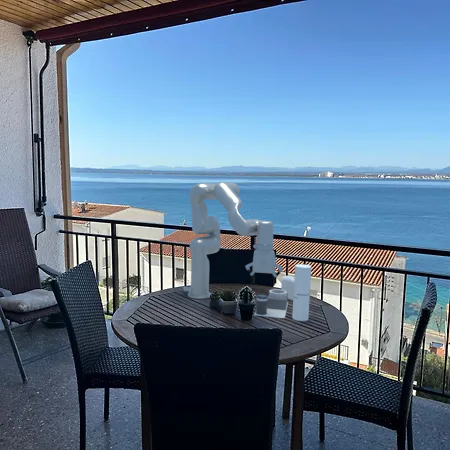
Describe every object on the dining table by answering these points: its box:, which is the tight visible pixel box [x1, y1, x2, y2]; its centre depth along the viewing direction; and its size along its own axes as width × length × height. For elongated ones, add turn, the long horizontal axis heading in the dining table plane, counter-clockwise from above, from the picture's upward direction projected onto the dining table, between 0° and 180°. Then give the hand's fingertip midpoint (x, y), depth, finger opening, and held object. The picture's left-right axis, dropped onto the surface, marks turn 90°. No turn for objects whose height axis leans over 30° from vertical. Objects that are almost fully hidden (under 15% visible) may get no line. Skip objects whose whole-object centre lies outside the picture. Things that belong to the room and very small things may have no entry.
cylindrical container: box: [291, 263, 312, 322], centre depth 191 cm, size 7×7×25 cm
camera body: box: [267, 288, 289, 311], centre depth 210 cm, size 9×14×7 cm, turn 168°
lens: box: [255, 294, 268, 315], centre depth 197 cm, size 5×5×8 cm
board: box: [253, 301, 289, 319], centre depth 205 cm, size 14×26×1 cm, turn 168°
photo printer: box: [280, 275, 295, 301], centre depth 225 cm, size 10×4×12 cm, turn 39°
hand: (263, 284), depth 196 cm, fingers open, 9 cm apart
